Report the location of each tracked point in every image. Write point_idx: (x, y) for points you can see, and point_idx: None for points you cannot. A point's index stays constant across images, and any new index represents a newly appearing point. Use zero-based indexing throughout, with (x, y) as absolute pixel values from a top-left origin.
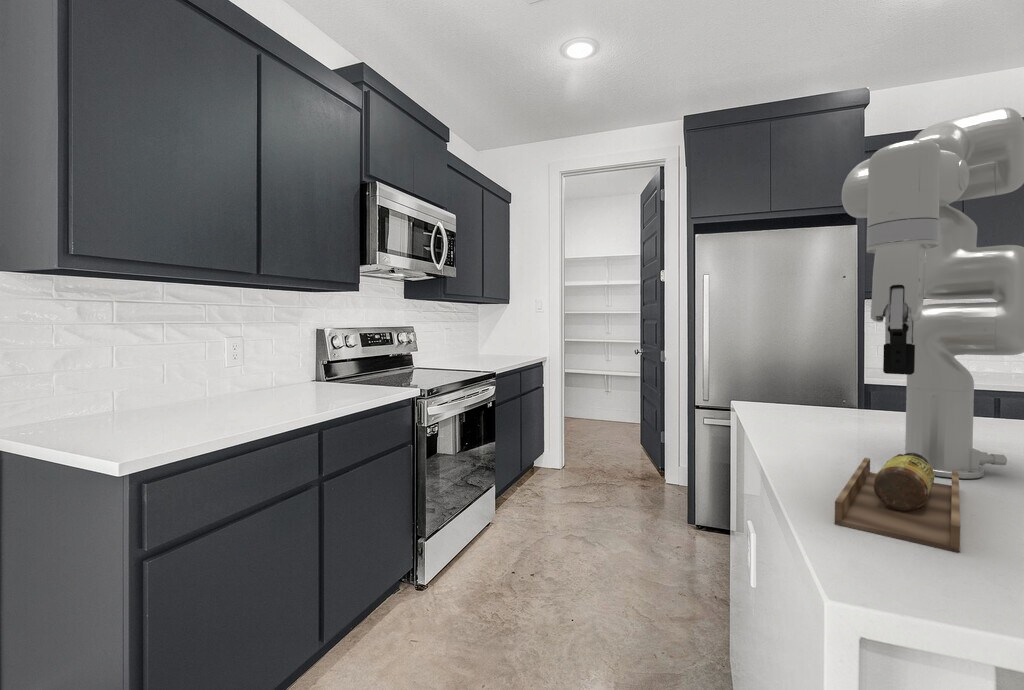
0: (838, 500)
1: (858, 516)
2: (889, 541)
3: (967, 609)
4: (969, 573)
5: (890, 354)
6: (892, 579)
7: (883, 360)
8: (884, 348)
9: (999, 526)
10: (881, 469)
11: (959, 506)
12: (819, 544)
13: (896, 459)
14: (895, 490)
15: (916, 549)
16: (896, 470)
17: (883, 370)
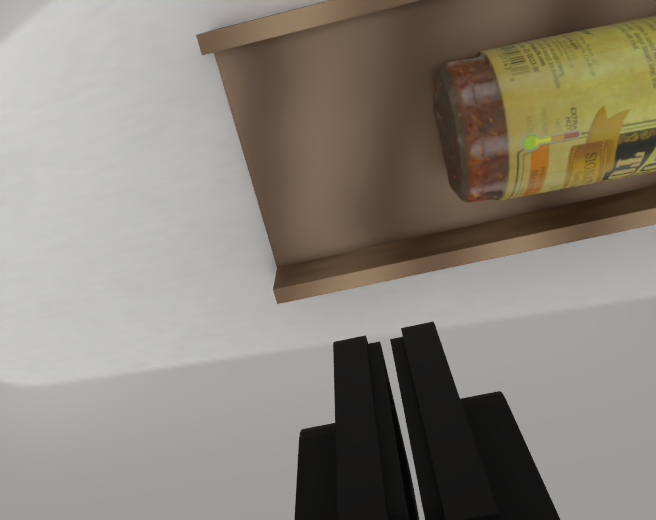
0: (214, 38)
1: (299, 63)
2: (216, 167)
3: (23, 338)
4: (185, 309)
5: (296, 507)
6: (14, 236)
7: (338, 401)
8: (343, 503)
9: (554, 287)
10: (524, 70)
11: (456, 265)
12: (32, 70)
13: None
14: (451, 124)
15: (221, 218)
16: (464, 142)
17: (334, 347)
